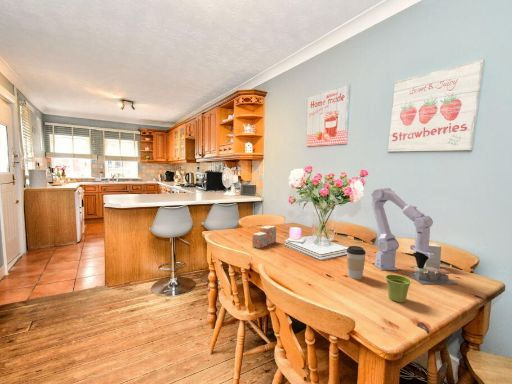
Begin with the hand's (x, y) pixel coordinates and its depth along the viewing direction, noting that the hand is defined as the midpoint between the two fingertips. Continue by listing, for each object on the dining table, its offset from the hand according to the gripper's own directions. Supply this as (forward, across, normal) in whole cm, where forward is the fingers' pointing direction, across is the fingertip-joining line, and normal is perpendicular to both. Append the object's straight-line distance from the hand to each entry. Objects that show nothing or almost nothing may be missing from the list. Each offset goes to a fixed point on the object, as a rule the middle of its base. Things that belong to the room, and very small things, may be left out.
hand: (420, 267), depth 125 cm
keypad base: (+6, 0, -6) cm, 8 cm away
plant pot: (+6, -20, +23) cm, 31 cm away
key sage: (+4, 0, 0) cm, 4 cm away
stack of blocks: (+6, +59, +74) cm, 95 cm away
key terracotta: (+5, 0, -11) cm, 12 cm away
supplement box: (+6, +17, -17) cm, 25 cm away
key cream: (+4, 0, -5) cm, 7 cm away
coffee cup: (+6, +3, +31) cm, 32 cm away
